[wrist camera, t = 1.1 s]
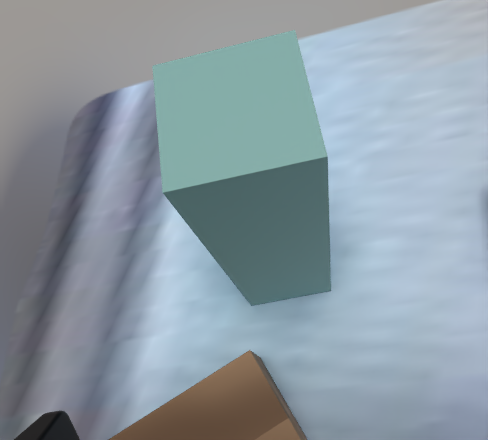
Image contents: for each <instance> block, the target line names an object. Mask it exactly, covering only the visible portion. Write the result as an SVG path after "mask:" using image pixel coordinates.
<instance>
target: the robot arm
mask: <svg viewBox="0 0 488 440" xmlns="http://www.w3.org/2000/svg"><path fill="white" fill-rule="evenodd" d="M14 440H80V439H79V437H78V435H77V433H76V430H75V428H74V426H73V424H72V422H71V420H70V418H69V416H68V414H67V413H66V412H64V411H55V412H49V413H45V414H43V415H42V416H41V417H40V418H38V419H37V420H36V421H35V422H34V423H33V424H31V425H30V426H29V427H28V428H27V429H26V430H25V431H23V432H22V433H21V434H20V435H19V436H18V437H16V438H15V439H14Z"/></svg>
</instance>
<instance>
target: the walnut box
mask: <svg viewBox="0 0 488 440" xmlns="http://www.w3.org/2000/svg"><path fill="white" fill-rule="evenodd" d="M109 440H307V438H306V436H305V435H304V433H303V431H302V429H301V428H300V426H299V424H298V422H297V421H296V419H295V417H294V416H293V414H292V412H291V410H290V409H289V407H288V405H287V403H286V402H285V400H284V398H283V396H282V395H281V393H280V391H279V389H278V388H277V386H276V384H275V382H274V381H273V379H272V377H271V375H270V374H269V372H268V370H267V368H266V367H265V365H264V363H263V361H262V360H261V358H260V357H259V356H257V355H256V354H254V353H253V352H252V351H250V350H249V351H248V352H246V353H244V354H243V355H241V356H240V357H238V358H237V359H235V360H233V361H232V362H230V363H229V364H227V365H226V366H224V367H222V368H221V369H219V370H218V371H216V372H214V373H213V374H211V375H210V376H208V377H207V378H205V379H203V380H202V381H200V382H199V383H197V384H196V385H194V386H192V387H191V388H189V389H188V390H186V391H184V392H183V393H181V394H180V395H178V396H177V397H175V398H173V399H172V400H170V401H169V402H167V403H166V404H164V405H162V406H161V407H159V408H158V409H156V410H154V411H153V412H151V413H150V414H148V415H147V416H145V417H143V418H142V419H140V420H139V421H137V422H136V423H134V424H132V425H131V426H129V427H128V428H126V429H124V430H123V431H121V432H120V433H118V434H117V435H115V436H113V437H112V438H110V439H109Z"/></svg>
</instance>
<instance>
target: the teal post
mask: <svg viewBox="0 0 488 440" xmlns="http://www.w3.org/2000/svg"><path fill="white" fill-rule="evenodd" d="M153 77H154V91H155V103H156V115H157V128H158V140H159V153H160V165H161V177H162V190H163V194H164V195H165V196H166V197H167V199H168V200H169V201H170V203H171V204H172V205H173V206H174V208H175V209H176V210H177V211H178V213H179V214H180V215H181V217H182V218H183V219H184V220H185V222H186V223H187V224H188V225H189V227H190V228H191V229H192V231H193V232H194V233H195V234H196V236H197V237H198V238H199V240H200V241H201V242H202V243H203V245H204V246H205V247H206V248H207V250H208V251H209V252H210V254H211V255H212V256H213V257H214V259H215V260H216V261H217V262H218V264H219V265H220V266H221V268H222V269H223V270H224V271H225V273H226V274H227V275H228V277H229V278H230V279H231V280H232V282H233V283H234V284H235V285H236V287H237V288H238V289H239V291H240V292H241V293H242V294H243V296H244V297H245V298H246V299H247V301H248V302H249V303H250V305H251V306H252V305H258V304H263V303H268V302H274V301H279V300H284V299H290V298H295V297H300V296H306V295H311V294H316V293H322V292H327V291H331V276H330V237H329V197H328V158H327V153H326V149H325V145H324V141H323V137H322V133H321V129H320V126H319V122H318V118H317V114H316V110H315V106H314V102H313V98H312V95H311V91H310V87H309V83H308V79H307V75H306V71H305V67H304V64H303V60H302V56H301V52H300V48H299V44H298V40H297V36H296V33H295V30H293V31H289V32H285V33H281V34H277V35H273V36H269V37H265V38H261V39H257V40H253V41H249V42H245V43H241V44H238V45H233V46H229V47H225V48H221V49H217V50H213V51H209V52H205V53H202V54H198V55H194V56H190V57H186V58H182V59H178V60H174V61H170V62H166V63H162V64H158V65H154V66H153Z"/></svg>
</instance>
